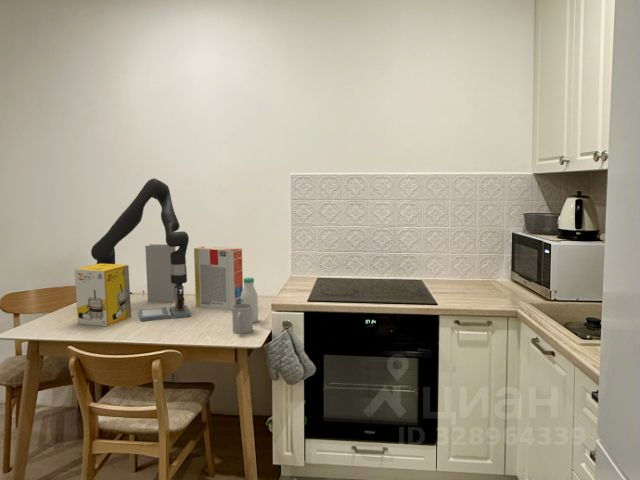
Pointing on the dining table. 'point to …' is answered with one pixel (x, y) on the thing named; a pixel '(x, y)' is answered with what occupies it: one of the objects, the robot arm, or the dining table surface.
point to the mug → (242, 318)
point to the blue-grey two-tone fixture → (179, 310)
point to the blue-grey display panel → (154, 314)
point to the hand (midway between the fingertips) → (180, 307)
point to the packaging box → (102, 294)
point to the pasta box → (218, 277)
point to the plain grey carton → (159, 273)
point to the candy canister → (250, 297)
